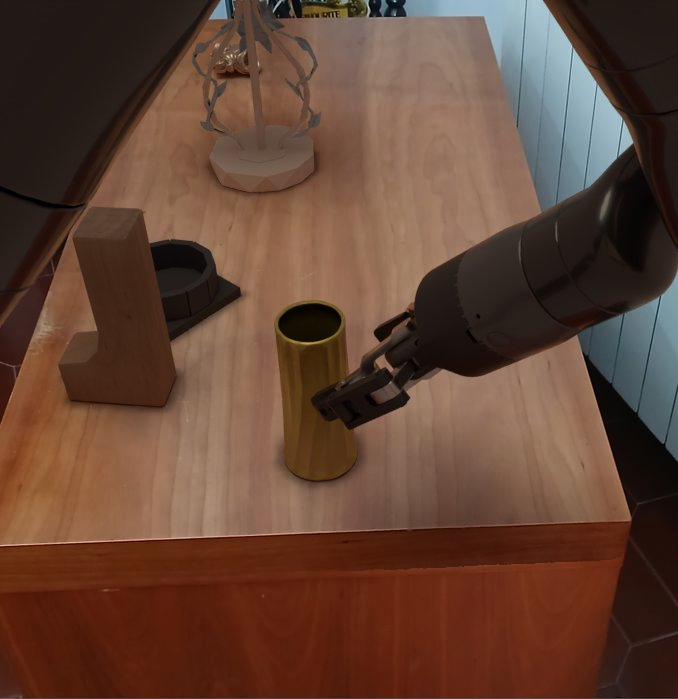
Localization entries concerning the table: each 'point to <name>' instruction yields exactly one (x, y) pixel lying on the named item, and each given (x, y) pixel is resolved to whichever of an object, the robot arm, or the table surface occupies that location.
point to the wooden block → (119, 315)
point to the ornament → (232, 60)
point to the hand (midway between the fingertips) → (352, 373)
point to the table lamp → (259, 111)
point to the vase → (312, 388)
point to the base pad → (188, 283)
